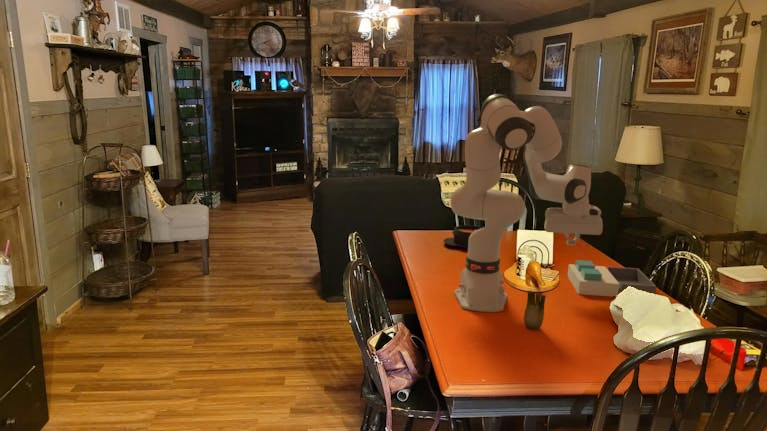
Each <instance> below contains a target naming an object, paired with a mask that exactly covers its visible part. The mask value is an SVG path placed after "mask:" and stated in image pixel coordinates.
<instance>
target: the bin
mask: <svg viewBox="0 0 767 431" xmlns="http://www.w3.org/2000/svg"><path fill="white" fill-rule="evenodd" d="M607 269H608V271H609V272H610V273H611V274H612V275H613V277H614V278H615V279H616V280H617V281H618V283H619V284H620V285H619V292H618V294H619V293H620V292H622V291H623V290H624V289H626V288H627V287H628V286H631V287H634V288H636V289H638V290H642V291H646V292H649V293H654V294H655V295H656V292H657V291H656V290H657V285H656V284H655V283H654V282H653V281H652V280H651V279H650V278H648V277H647V276H646V275H645V274H644V272H643V271H641V269H640V268H635V267H634V268H633V267H621V266H620V267H619V266H607Z"/></svg>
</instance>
